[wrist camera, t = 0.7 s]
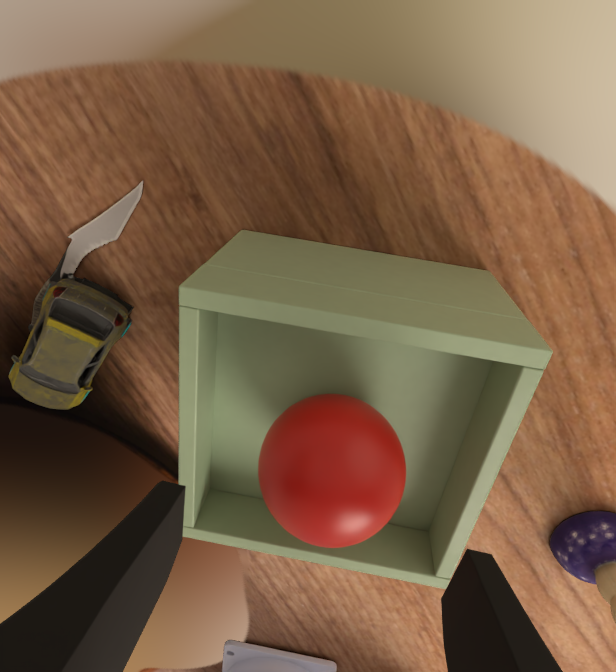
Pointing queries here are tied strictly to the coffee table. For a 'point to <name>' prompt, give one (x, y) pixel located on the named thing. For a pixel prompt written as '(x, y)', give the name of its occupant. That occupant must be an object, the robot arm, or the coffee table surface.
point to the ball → (332, 470)
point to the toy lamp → (589, 550)
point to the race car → (69, 342)
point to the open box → (350, 388)
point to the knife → (90, 241)
